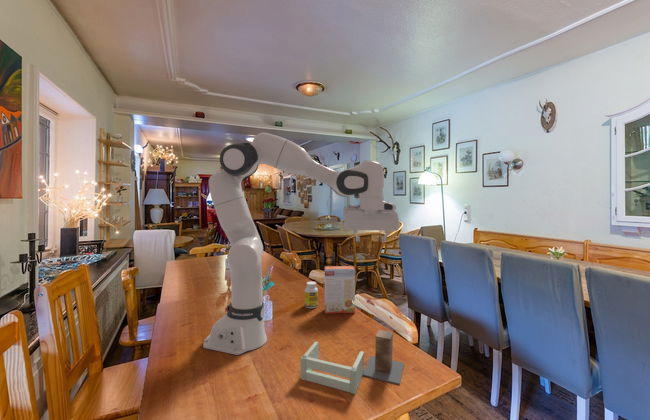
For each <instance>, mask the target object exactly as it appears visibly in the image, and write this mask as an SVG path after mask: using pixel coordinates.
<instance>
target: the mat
mask: <svg viewBox="0 0 650 420" xmlns="http://www.w3.org/2000/svg"><path fill="white" fill-rule="evenodd" d="M368 358H369V359H368V361H367V363H366V365H365V366H364V372H363V376H362V377H366V378H371V379H375V380H379V381H381V382H382V381H383V382H387V383H391V384H393V385H394V384H395V385H398V386H399V385H401V380H402V377H403V369H404V366H405V362H403V361H402V362H401V361H397V360H393V359H392V368H391V372H390V374H387V373H382V372H378V371H375V355H370V356H369V357H368Z"/></svg>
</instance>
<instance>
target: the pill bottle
mask: <svg viewBox="0 0 650 420" xmlns="http://www.w3.org/2000/svg"><path fill="white" fill-rule="evenodd" d="M304 306H305V308H307V309H314V308H317V307H318V306H319V290H318V287H317V282H316V281H311V280H310V281H307V282H306V287H305V289H304Z"/></svg>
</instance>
